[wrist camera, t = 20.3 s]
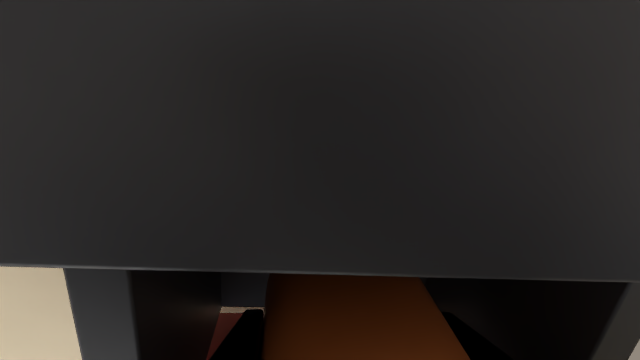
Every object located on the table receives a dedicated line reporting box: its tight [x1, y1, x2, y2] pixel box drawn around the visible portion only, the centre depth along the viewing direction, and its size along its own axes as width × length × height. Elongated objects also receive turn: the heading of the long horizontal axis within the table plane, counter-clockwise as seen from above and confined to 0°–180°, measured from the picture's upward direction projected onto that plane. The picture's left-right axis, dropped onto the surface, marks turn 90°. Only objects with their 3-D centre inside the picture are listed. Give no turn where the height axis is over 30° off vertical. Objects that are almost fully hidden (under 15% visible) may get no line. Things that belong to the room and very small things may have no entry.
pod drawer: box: [63, 268, 640, 360], centre depth 9 cm, size 17×10×7 cm, turn 174°
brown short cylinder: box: [259, 273, 470, 360], centre depth 7 cm, size 4×4×4 cm
